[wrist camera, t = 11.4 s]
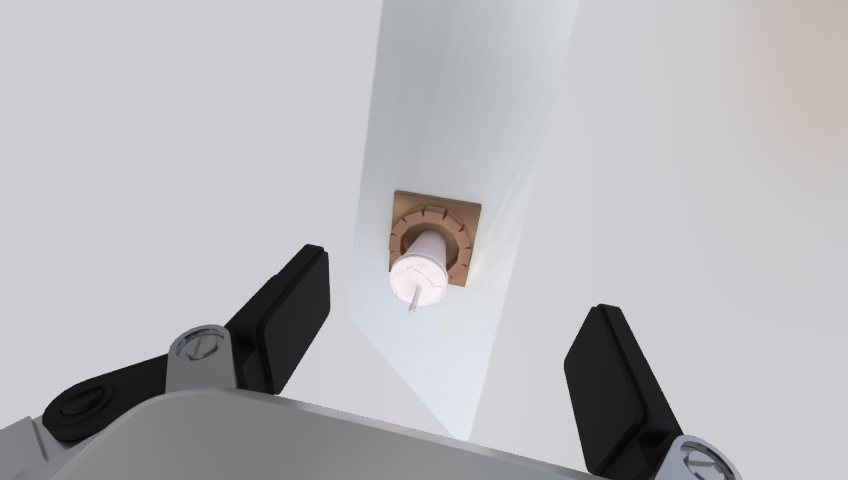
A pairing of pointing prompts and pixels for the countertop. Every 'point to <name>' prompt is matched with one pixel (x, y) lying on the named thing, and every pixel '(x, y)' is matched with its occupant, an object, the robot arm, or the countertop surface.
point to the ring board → (440, 215)
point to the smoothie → (421, 271)
